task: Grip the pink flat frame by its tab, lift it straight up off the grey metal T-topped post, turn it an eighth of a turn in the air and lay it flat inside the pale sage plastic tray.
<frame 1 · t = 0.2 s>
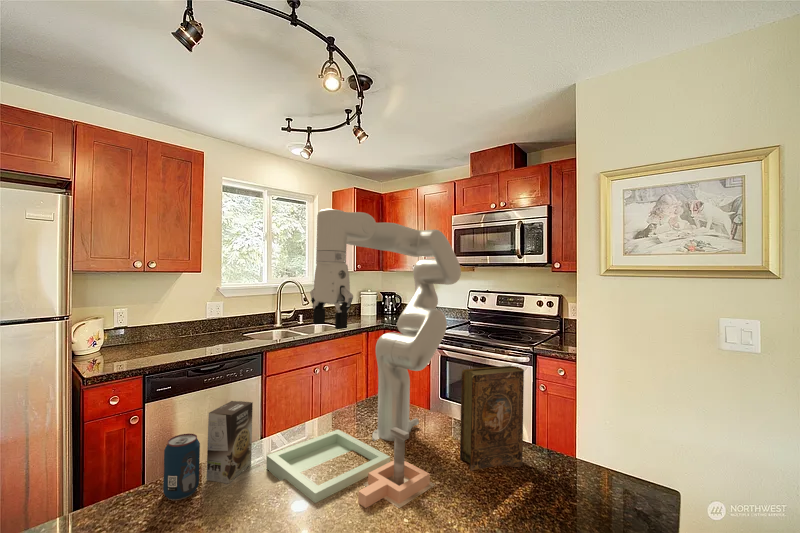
hand: (329, 326, 94), 36 cm above the countertop, tool pointing down, fingers open, 9 cm apart
tray: (328, 469, 93), on the countertop
book: (492, 466, 97), on the countertop
coffee box: (230, 473, 92), on the countertop
stake stand: (398, 490, 85), on the countertop
soda can: (181, 493, 83), on the countertop
pink flat frame: (398, 484, 85), point 1 cm above the countertop, touching stake stand
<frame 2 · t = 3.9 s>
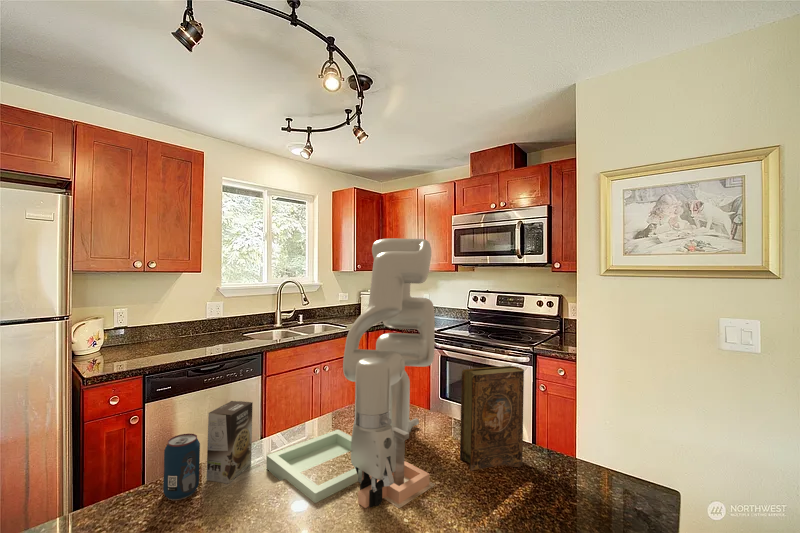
hand: (370, 502, 79), 1 cm above the countertop, tool pointing down, fingers closed on pink flat frame, 2 cm apart
pink flat frame: (398, 484, 85), point 1 cm above the countertop, touching gripper, stake stand
everything else where it was.
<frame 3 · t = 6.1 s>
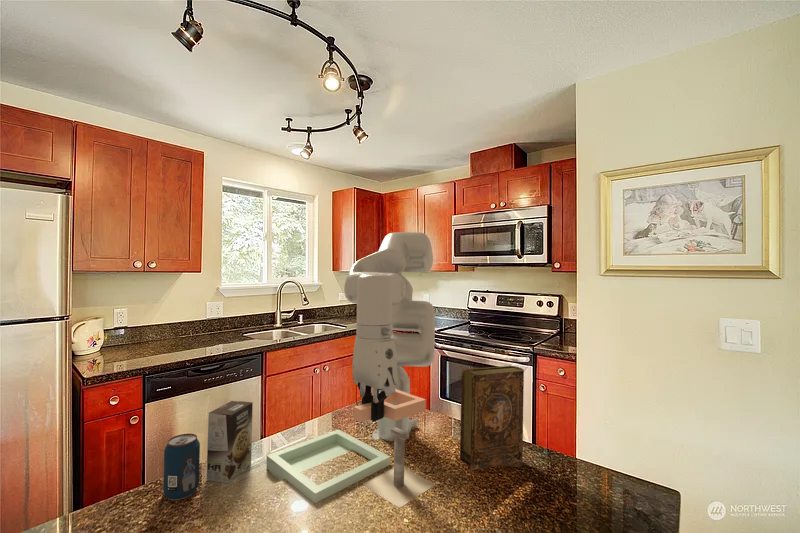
hand: (372, 416, 79), 19 cm above the countertop, tool pointing down, fingers closed on pink flat frame
pink flat frame: (394, 409, 84), point 19 cm above the countertop, touching gripper
everything else where it was.
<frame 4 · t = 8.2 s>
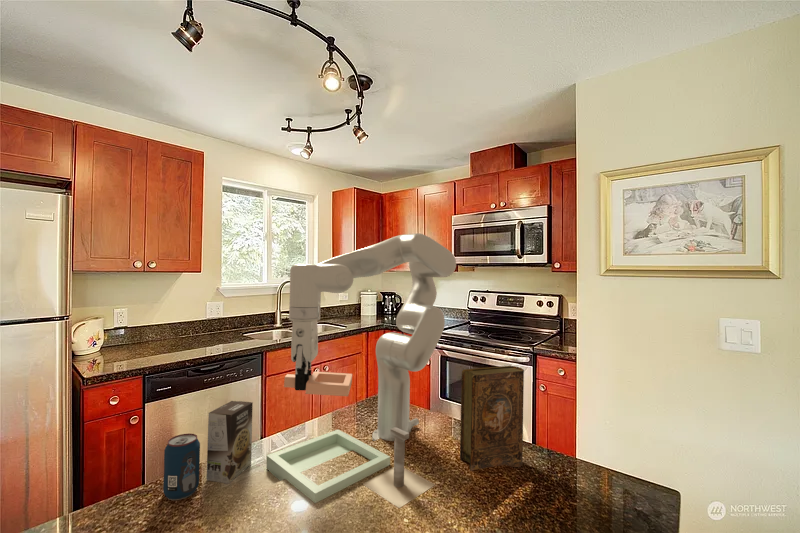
hand: (303, 387, 92), 21 cm above the countertop, tool pointing down, fingers closed on pink flat frame
pink flat frame: (329, 388, 92), point 21 cm above the countertop, touching gripper
everything else where it was.
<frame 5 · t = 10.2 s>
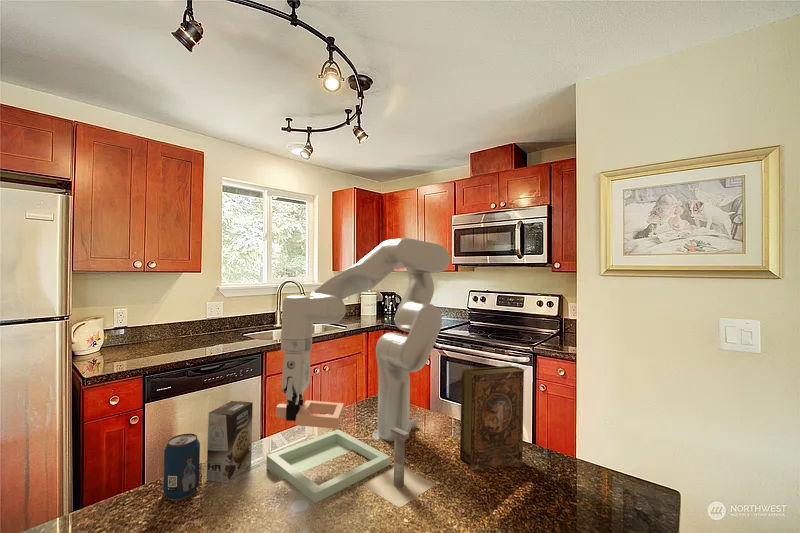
hand: (294, 417, 93), 13 cm above the countertop, tool pointing down, fingers closed on pink flat frame
pink flat frame: (320, 418, 93), point 13 cm above the countertop, touching gripper
everything else where it was.
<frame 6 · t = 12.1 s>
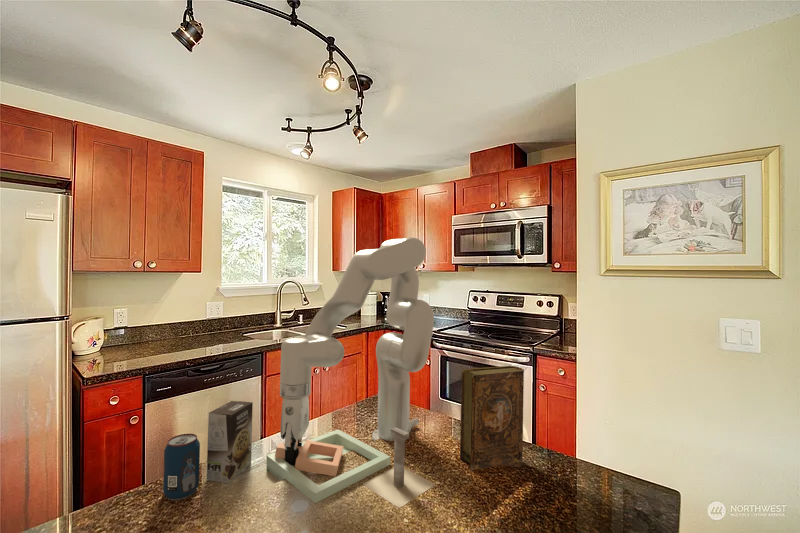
hand: (293, 461, 93), 2 cm above the countertop, tool pointing down, fingers closed on pink flat frame, 2 cm apart
pink flat frame: (319, 462, 93), point 2 cm above the countertop, tilted 9°, touching gripper, tray
everything else where it was.
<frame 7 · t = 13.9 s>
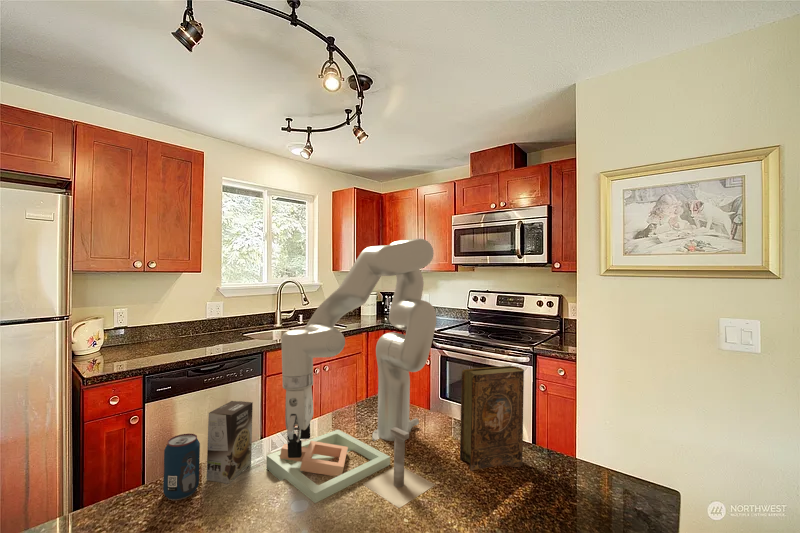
hand: (299, 447, 94), 5 cm above the countertop, tool pointing down, fingers open, 8 cm apart
pink flat frame: (324, 462, 93), point 2 cm above the countertop, tilted 9°, touching tray
everything else where it was.
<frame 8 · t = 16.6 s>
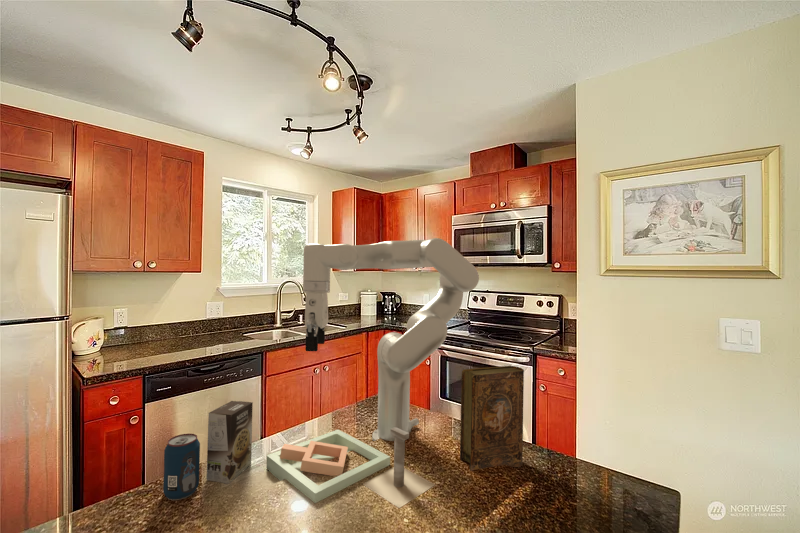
hand: (315, 347, 105), 28 cm above the countertop, tool pointing down, fingers open, 9 cm apart
nothing on the countertop moved.
at the end: pink flat frame inside the target area on the tray (1.0 cm from its centre), point 1.8 cm above the tray's base; pink flat frame tilted 9°; the gripper is holding nothing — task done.
